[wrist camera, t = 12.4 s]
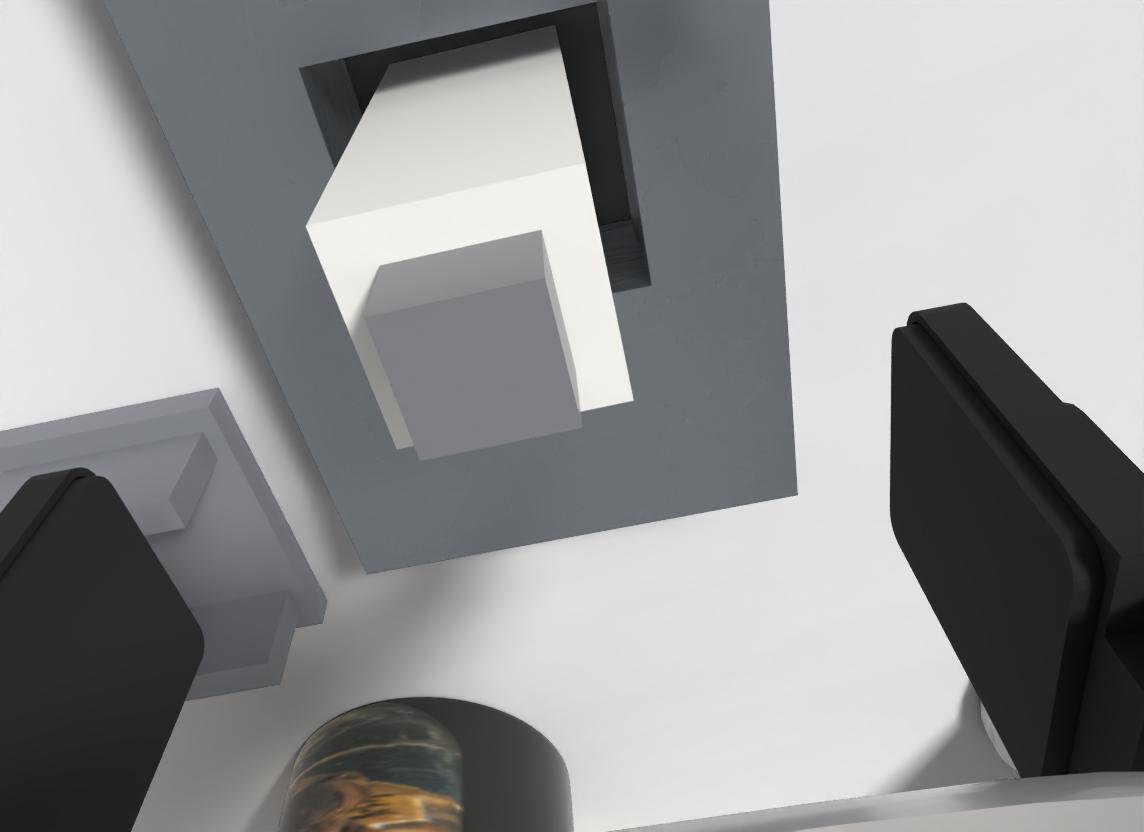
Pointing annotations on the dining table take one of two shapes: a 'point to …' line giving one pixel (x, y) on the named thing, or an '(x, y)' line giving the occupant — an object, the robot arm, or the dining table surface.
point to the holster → (192, 523)
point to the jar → (427, 773)
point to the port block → (631, 248)
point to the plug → (473, 251)
